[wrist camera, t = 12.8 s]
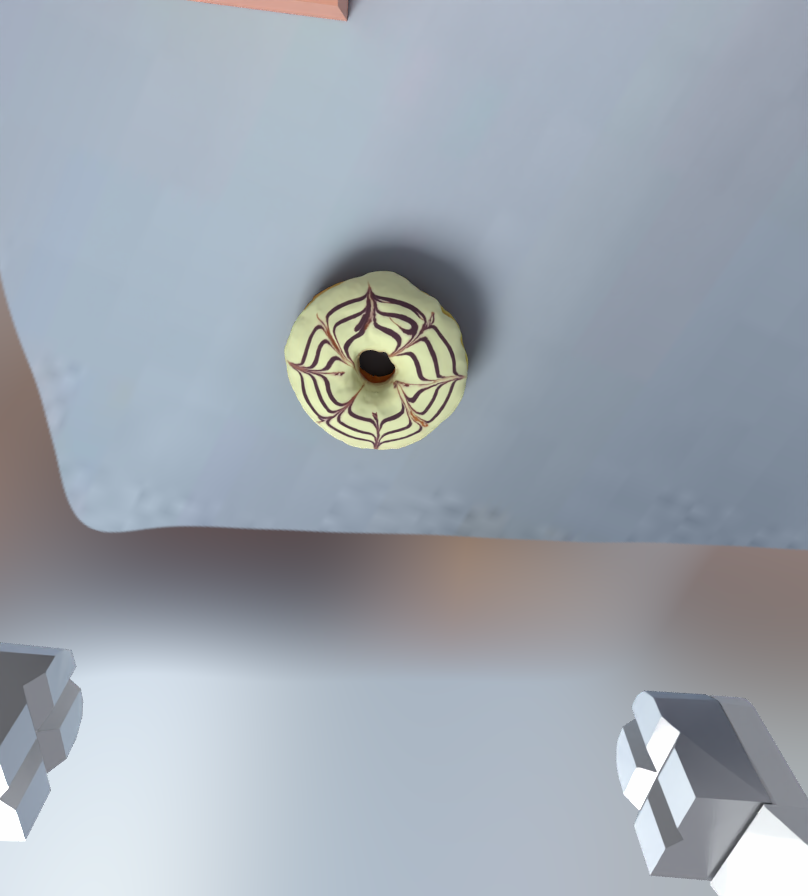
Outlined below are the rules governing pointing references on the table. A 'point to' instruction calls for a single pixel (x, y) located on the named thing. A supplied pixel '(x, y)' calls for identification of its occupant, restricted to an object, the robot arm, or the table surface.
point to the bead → (293, 7)
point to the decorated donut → (384, 330)
